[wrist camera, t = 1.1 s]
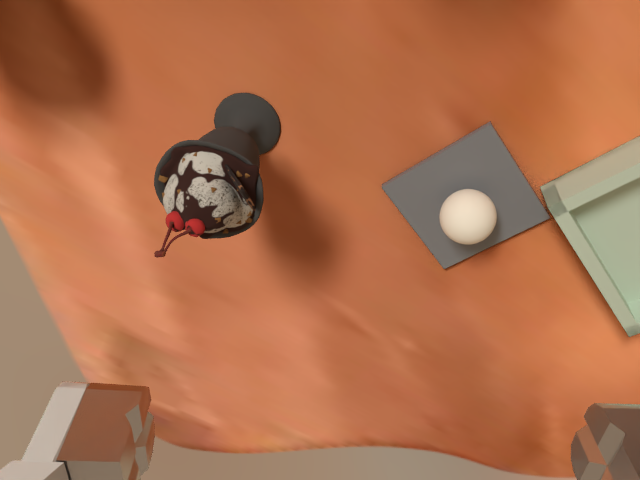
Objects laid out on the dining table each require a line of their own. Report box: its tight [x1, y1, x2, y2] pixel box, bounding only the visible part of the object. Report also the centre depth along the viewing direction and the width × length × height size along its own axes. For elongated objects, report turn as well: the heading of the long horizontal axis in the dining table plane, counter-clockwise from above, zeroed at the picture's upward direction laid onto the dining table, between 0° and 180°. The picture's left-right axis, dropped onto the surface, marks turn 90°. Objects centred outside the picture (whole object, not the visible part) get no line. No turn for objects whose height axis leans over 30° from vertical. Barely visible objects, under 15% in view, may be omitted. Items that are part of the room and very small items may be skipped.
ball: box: [439, 189, 497, 244], centre depth 42 cm, size 4×4×4 cm
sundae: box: [154, 93, 280, 257], centre depth 37 cm, size 7×7×15 cm
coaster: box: [382, 122, 550, 269], centre depth 44 cm, size 9×9×1 cm
